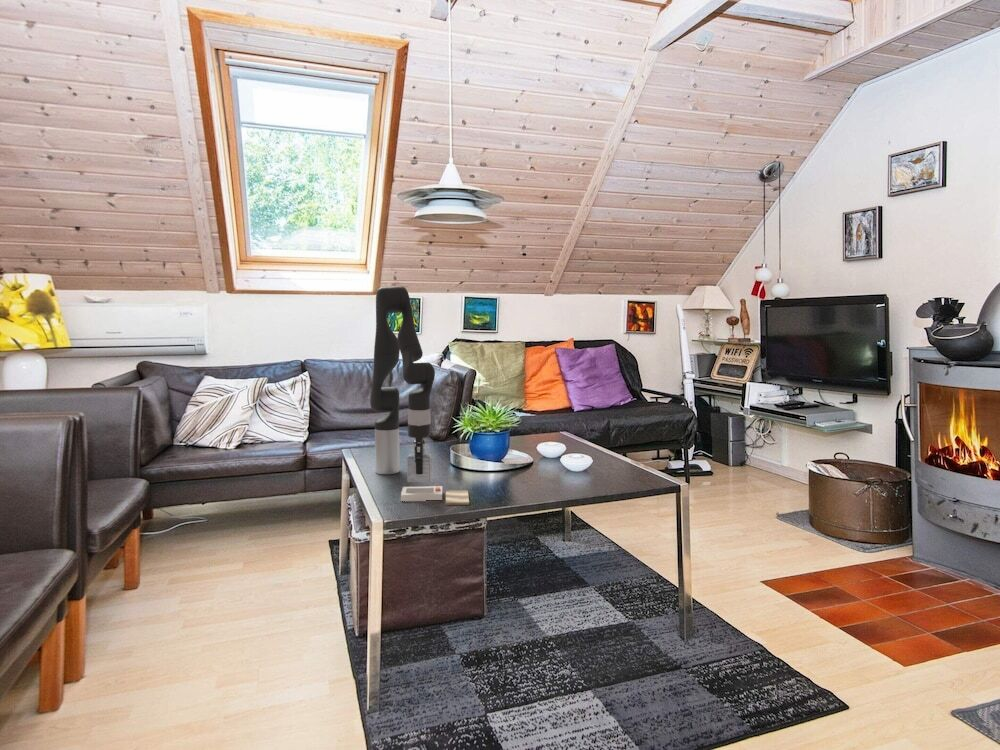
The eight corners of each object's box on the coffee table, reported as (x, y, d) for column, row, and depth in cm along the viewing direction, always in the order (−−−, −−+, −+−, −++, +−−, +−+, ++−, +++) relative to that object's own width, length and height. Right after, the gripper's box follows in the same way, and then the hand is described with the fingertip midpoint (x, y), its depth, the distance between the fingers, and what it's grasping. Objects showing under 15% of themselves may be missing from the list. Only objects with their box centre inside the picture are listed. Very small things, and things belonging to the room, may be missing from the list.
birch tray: (445, 493, 223) (445, 490, 223) (467, 492, 224) (467, 490, 224) (445, 505, 209) (445, 502, 209) (469, 504, 210) (469, 502, 210)
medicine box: (432, 478, 220) (431, 453, 219) (430, 482, 216) (430, 456, 215) (408, 478, 220) (408, 453, 219) (407, 482, 216) (406, 456, 215)
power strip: (404, 486, 231) (404, 478, 231) (442, 485, 232) (442, 478, 232) (401, 501, 213) (400, 493, 213) (442, 500, 214) (442, 492, 214)
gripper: (409, 418, 223) (409, 467, 225) (406, 426, 209) (407, 478, 210) (431, 418, 223) (431, 466, 225) (430, 426, 209) (430, 477, 211)
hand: (419, 471), depth 218 cm, fingers closed on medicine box, 4 cm apart
